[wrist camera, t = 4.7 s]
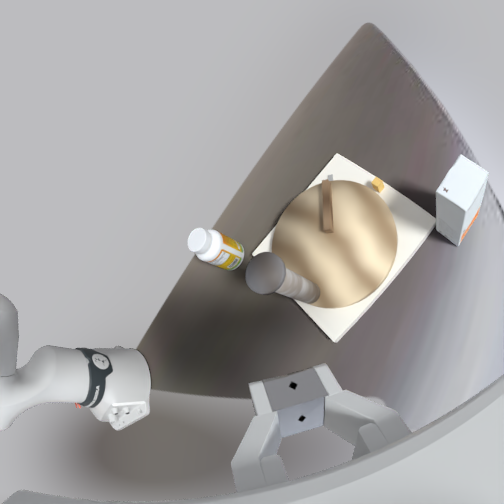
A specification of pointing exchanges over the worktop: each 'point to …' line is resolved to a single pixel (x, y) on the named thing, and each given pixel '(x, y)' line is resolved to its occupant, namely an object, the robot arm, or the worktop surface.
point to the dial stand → (409, 240)
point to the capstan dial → (328, 247)
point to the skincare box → (459, 199)
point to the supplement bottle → (216, 248)
